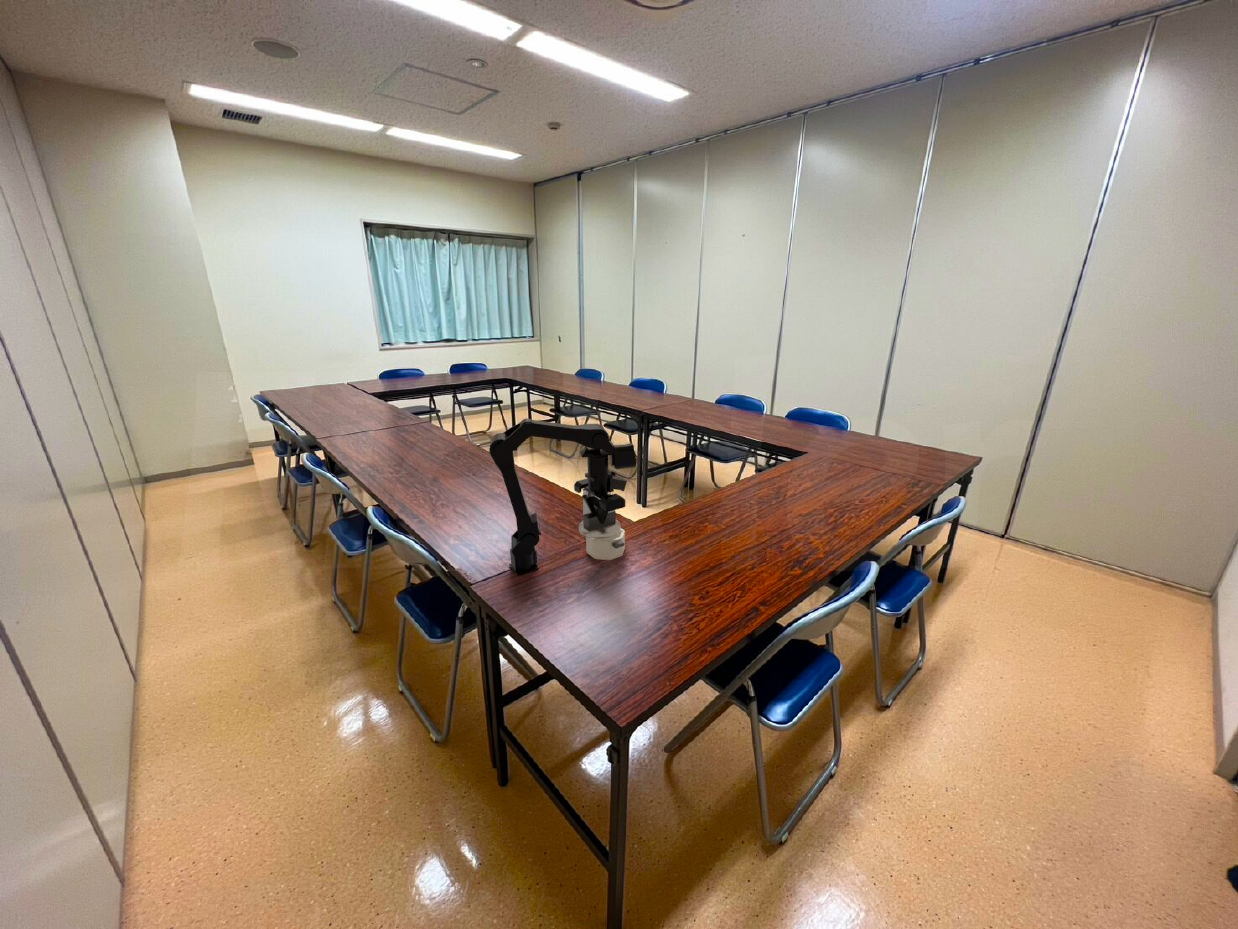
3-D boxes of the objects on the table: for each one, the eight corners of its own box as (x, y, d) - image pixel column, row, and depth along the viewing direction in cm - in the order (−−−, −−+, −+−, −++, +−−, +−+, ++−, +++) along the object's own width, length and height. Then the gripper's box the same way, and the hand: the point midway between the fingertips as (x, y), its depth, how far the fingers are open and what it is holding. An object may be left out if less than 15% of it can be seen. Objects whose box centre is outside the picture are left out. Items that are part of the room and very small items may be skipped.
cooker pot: (604, 566, 136) (604, 548, 134) (577, 545, 147) (577, 528, 145) (635, 555, 142) (635, 537, 140) (607, 535, 153) (606, 519, 151)
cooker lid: (592, 542, 129) (591, 526, 127) (571, 526, 138) (570, 510, 136) (628, 531, 135) (628, 515, 133) (606, 515, 144) (606, 500, 143)
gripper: (641, 474, 127) (641, 526, 132) (605, 456, 142) (606, 503, 147) (606, 483, 121) (607, 537, 127) (572, 463, 136) (574, 512, 141)
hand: (599, 521), depth 136 cm, fingers closed on cooker lid, 3 cm apart
